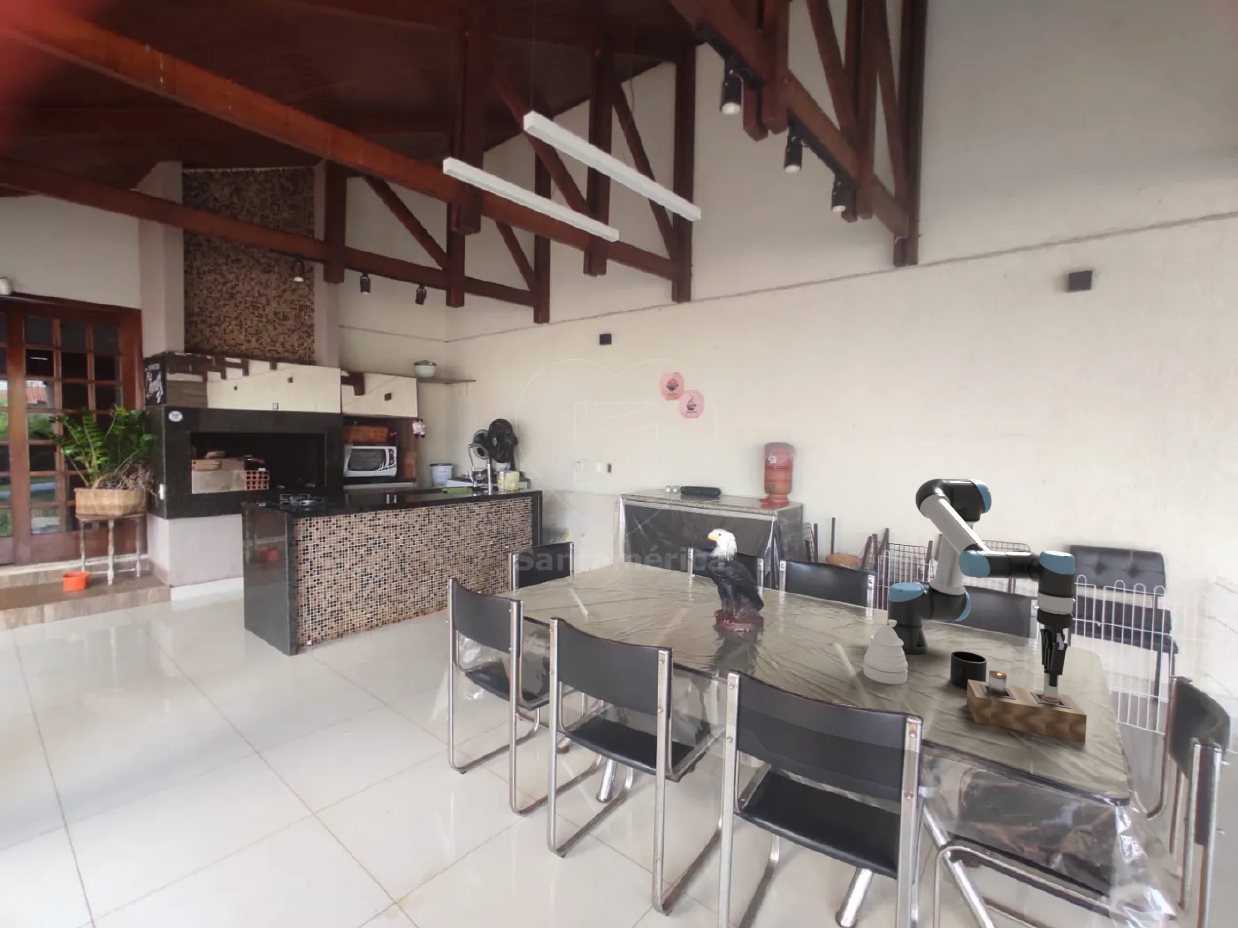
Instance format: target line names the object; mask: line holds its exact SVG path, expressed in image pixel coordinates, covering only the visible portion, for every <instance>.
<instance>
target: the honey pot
mask: <svg viewBox="0 0 1238 928" xmlns="http://www.w3.org/2000/svg"><path fill="white" fill-rule="evenodd" d="M887 620H888V619H887ZM888 623H889V625H887V624H883V625H882V626H880V627H879V628H878V629H877V630H876V632H875V633H874V634H872V635H870V636H869V641H870V643H869V645H867V649H866V651H865V654H864V656H863V674H864V675H865V676H866V677H867V678H869V679H871V680H873V681H876V682H879V683H883V684H888V685H901V684H905V683H907V681H908V666H909V665H908V664H909V663H908V661H907V660H906V659H907V658H906V655H905V653H904V651H903V649H902V646H903V645H904V642H903V641H902V640H901V639H899V638H898V636H897V634H896V632H895V631H894V630H893V628H892V627H894V626H895V625H896V624H897V621H896V620H888Z"/></svg>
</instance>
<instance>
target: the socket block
mask: <svg viewBox="0 0 1238 928" xmlns="http://www.w3.org/2000/svg"><path fill="white" fill-rule="evenodd" d="M988 690H989V682H987V681H986V682H981V681H975V680H968V684H967V690H966V705H967V706H968V710H969V711H970V714H971V715H972V719H973V720H974V722H975V723H978V724H984V725H990V726H996V727H1000V726H1001V727H1000V728H1005V729H1011V730H1016V731H1017V730H1018V731H1024V732H1029V733H1034V734H1038V735H1039V734H1040V735H1045V736H1051V737H1057V738H1061V739H1066V740H1072V741H1078V742H1083V743H1086V735H1087V734H1086V733H1087V721H1088V720H1087V713H1085V711H1084V710H1083V709H1082V708H1081V707H1080V705H1078V704H1077V702H1076V701H1075V700H1074V699H1073V698H1072V696H1071V695H1068V694H1063V693H1062V694H1061V693H1058V698H1059V699H1060V704H1059V705H1057V704H1051V703H1045V702H1041V694H1043V692H1044V690H1037V689H1030V688H1025V687H1019V686H1018V687H1017V686H1013V685H1006V696H1002V695H996V694H990V693H988Z"/></svg>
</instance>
